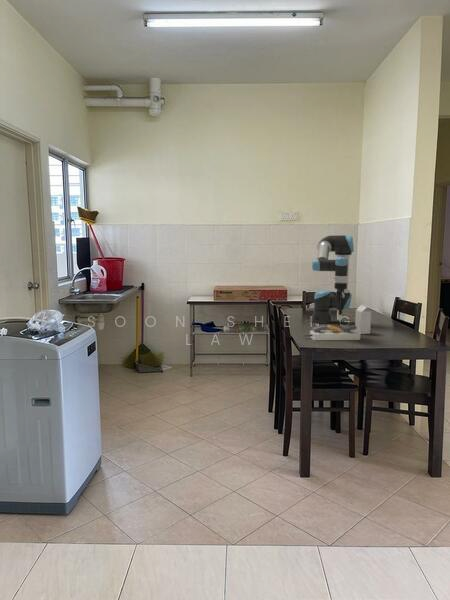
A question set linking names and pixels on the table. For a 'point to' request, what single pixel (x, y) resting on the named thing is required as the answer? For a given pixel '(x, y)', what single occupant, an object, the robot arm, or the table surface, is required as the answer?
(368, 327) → the milk carton
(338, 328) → the rocker mid
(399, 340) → the table surface
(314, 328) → the rocker
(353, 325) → the rocker
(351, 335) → the power strip
